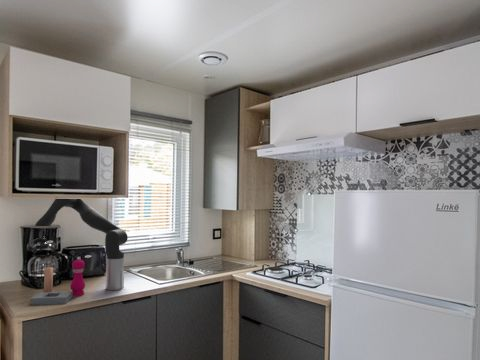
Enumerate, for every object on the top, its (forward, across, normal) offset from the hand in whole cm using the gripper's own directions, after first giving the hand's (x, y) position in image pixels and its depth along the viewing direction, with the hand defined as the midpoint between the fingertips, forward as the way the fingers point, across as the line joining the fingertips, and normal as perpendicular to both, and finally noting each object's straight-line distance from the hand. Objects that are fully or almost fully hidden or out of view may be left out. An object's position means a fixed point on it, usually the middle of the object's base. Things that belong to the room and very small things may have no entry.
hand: (45, 250), depth 185 cm
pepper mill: (+19, +14, +19) cm, 30 cm away
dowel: (+11, +2, +21) cm, 23 cm away
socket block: (+23, +1, +19) cm, 30 cm away
